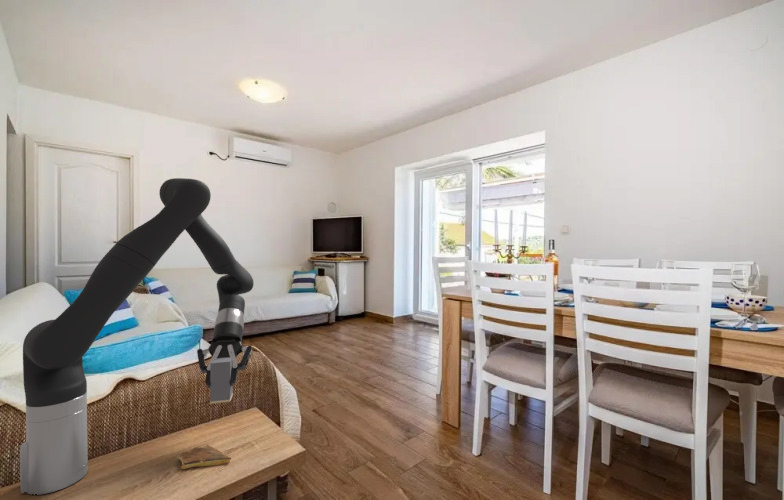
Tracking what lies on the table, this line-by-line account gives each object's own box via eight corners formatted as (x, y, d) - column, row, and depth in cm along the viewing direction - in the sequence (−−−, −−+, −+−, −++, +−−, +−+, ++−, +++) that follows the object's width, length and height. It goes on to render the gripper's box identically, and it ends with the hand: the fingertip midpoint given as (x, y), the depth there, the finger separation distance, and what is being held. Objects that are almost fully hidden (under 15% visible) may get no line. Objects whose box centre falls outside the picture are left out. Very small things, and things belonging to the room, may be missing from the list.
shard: (231, 464, 79) (231, 456, 79) (196, 483, 72) (196, 474, 72) (207, 449, 85) (206, 442, 85) (172, 465, 79) (172, 457, 79)
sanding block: (209, 403, 87) (210, 363, 87) (213, 396, 92) (214, 358, 92) (230, 401, 88) (230, 361, 89) (232, 394, 93) (233, 356, 93)
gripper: (198, 321, 96) (185, 381, 84) (254, 319, 100) (249, 375, 88) (203, 337, 101) (191, 395, 89) (256, 333, 105) (252, 389, 93)
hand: (220, 385), depth 88 cm, fingers closed on sanding block, 4 cm apart
